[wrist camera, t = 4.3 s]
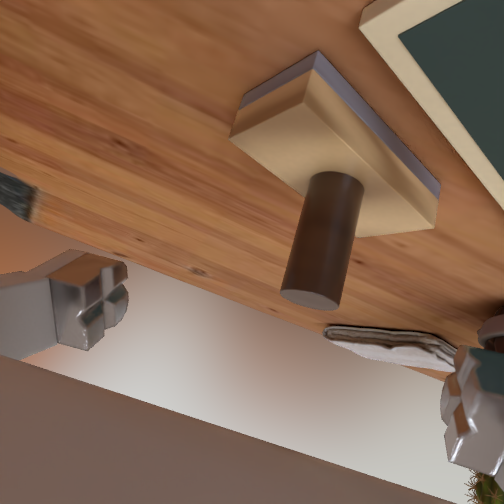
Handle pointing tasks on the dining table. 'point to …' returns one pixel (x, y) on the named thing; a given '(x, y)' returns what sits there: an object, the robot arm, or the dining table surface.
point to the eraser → (332, 172)
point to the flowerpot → (500, 340)
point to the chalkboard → (450, 71)
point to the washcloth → (394, 346)
